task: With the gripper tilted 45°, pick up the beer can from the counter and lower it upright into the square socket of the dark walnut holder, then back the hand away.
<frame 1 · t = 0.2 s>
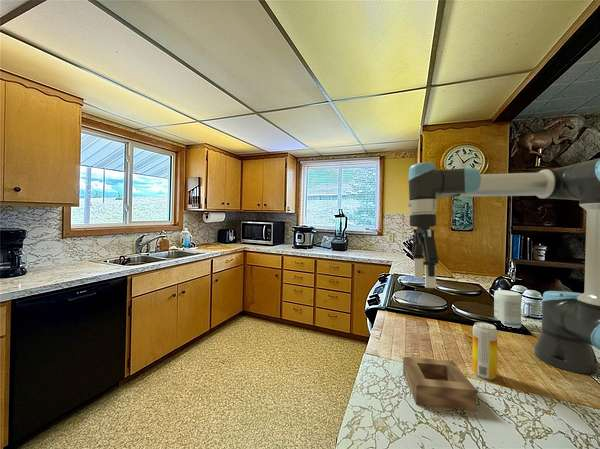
hand: (424, 282, 83), 27 cm above the worktop, tool pointing down, fingers open, 13 cm apart
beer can: (483, 375, 81), on the worktop
walnut socket holder: (435, 389, 73), on the worktop
supplement tub: (506, 325, 120), on the worktop
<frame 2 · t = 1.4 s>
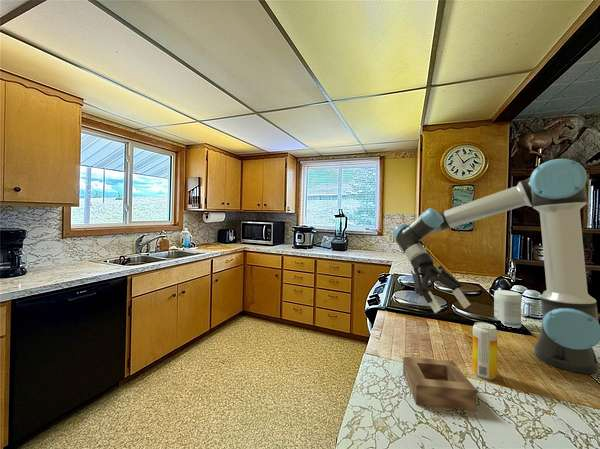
hand: (453, 308, 90), 17 cm above the worktop, tool tilted 45°, fingers open, 13 cm apart
nothing on the worktop moved.
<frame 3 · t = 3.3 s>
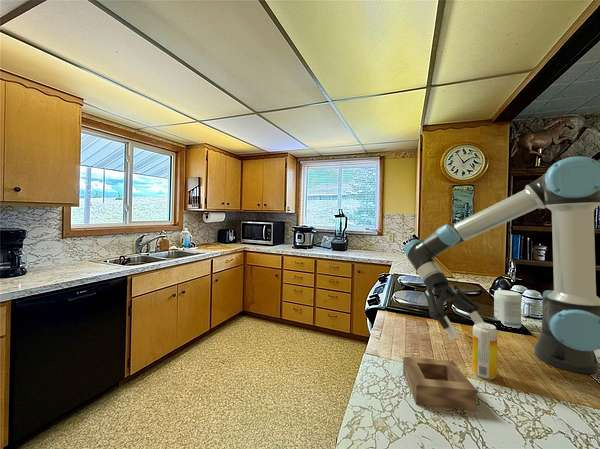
hand: (471, 335, 84), 11 cm above the worktop, tool tilted 45°, fingers open, 13 cm apart
nothing on the worktop moved.
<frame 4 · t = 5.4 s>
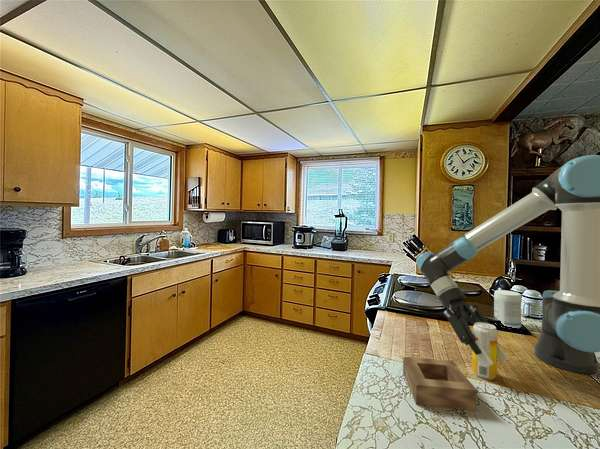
hand: (497, 363, 77), 5 cm above the worktop, tool tilted 45°, fingers closed on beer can, 6 cm apart
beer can: (483, 375, 81), on the worktop, touching gripper
everything else where it was.
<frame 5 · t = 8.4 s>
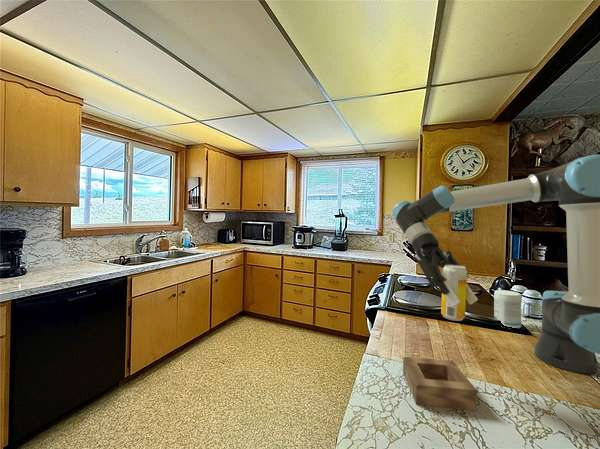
hand: (465, 303, 75), 23 cm above the worktop, tool tilted 45°, fingers closed on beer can, 6 cm apart
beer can: (452, 318, 78), point 18 cm above the worktop, touching gripper
everything else where it was.
when the fingers open (9 cm above the worktop, at t = 11.7 s): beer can drops 2 cm, resting on walnut socket holder.
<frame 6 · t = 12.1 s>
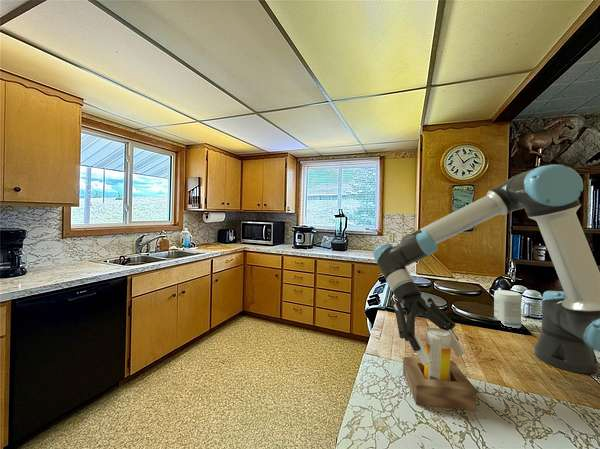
hand: (445, 359, 71), 10 cm above the worktop, tool tilted 45°, fingers open, 11 cm apart
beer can: (435, 386, 74), point 1 cm above the worktop, touching walnut socket holder
everything else where it was.
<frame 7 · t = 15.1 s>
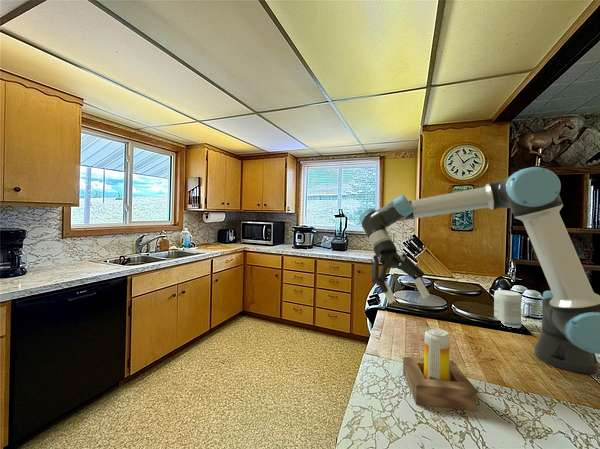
hand: (409, 299, 86), 21 cm above the worktop, tool tilted 40°, fingers open, 13 cm apart
nothing on the worktop moved.
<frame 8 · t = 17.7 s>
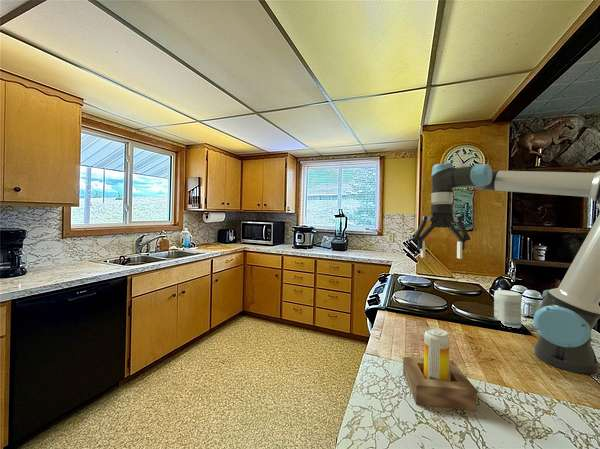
hand: (440, 257, 106), 32 cm above the worktop, tool pointing down, fingers open, 13 cm apart
nothing on the worktop moved.
at the end: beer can 0.1 cm off-centre on the walnut socket holder, point 0.8 cm above the walnut socket holder's base; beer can tilted 0°; the gripper is holding nothing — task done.
